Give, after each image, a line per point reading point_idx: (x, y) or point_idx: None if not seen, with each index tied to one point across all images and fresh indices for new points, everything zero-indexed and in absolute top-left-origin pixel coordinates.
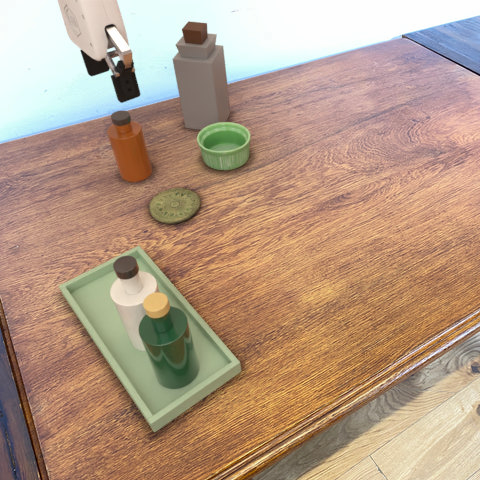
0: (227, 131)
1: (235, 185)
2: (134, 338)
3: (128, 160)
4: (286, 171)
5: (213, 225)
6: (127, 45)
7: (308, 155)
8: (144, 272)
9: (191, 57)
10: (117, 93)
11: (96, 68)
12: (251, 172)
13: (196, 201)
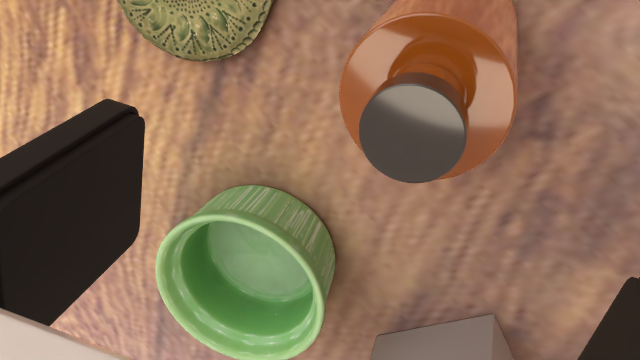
0: (287, 328)
1: (153, 156)
2: None
3: (391, 5)
4: (112, 265)
5: None
6: None
7: (125, 336)
8: None
9: None
10: (63, 125)
11: (611, 355)
12: (167, 222)
13: (145, 26)
